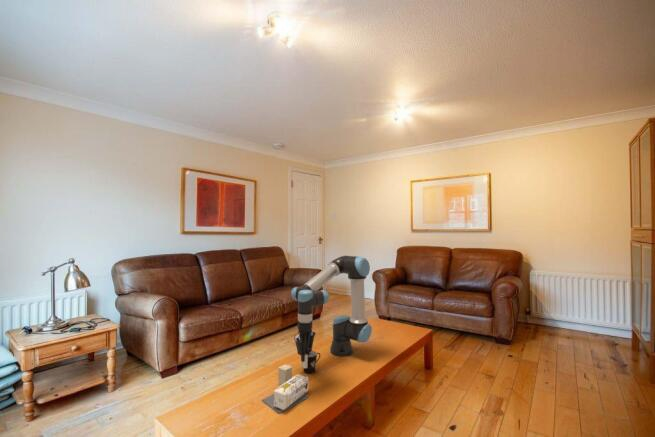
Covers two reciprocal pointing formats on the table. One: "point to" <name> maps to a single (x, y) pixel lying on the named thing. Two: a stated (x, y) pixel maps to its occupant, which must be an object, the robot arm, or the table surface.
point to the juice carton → (290, 391)
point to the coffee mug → (311, 362)
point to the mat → (270, 403)
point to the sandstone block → (284, 374)
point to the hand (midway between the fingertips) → (304, 367)
